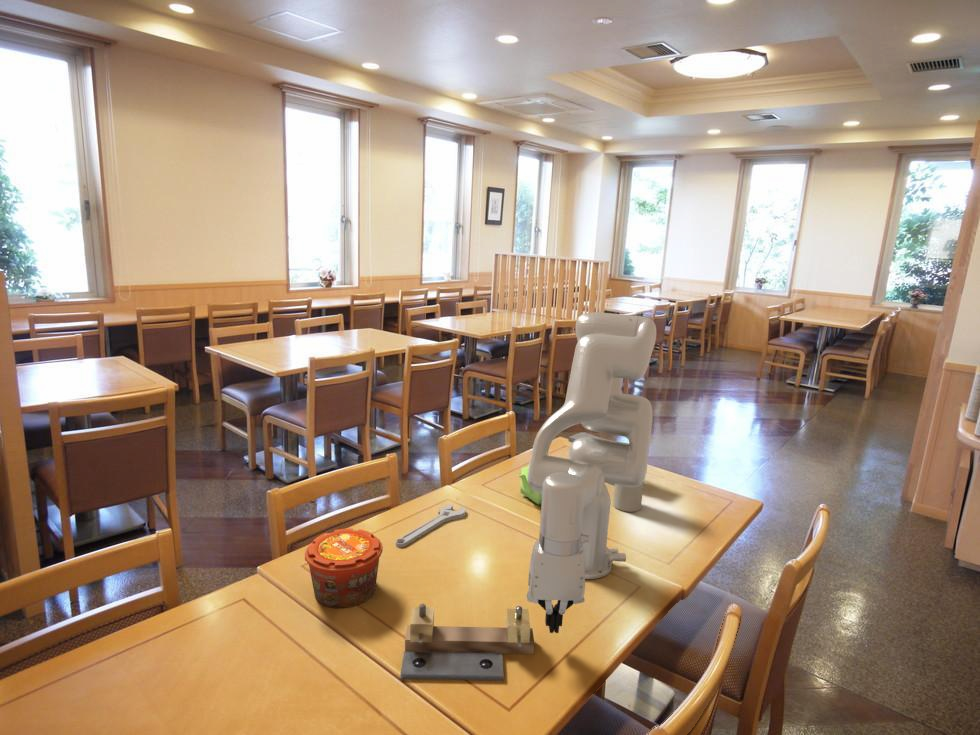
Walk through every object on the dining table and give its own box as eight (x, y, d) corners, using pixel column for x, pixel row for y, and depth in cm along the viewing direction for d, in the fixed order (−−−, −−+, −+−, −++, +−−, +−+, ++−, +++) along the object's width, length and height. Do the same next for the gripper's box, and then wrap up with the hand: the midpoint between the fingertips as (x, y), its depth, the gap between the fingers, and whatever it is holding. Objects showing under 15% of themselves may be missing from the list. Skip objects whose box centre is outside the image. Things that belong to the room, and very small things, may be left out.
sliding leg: (527, 624, 114) (528, 599, 113) (530, 651, 107) (532, 625, 106) (506, 624, 114) (507, 599, 113) (508, 651, 107) (509, 624, 106)
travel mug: (644, 505, 172) (650, 447, 168) (635, 515, 166) (641, 455, 162) (618, 497, 177) (624, 441, 172) (608, 507, 170) (614, 448, 166)
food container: (290, 601, 123) (288, 555, 120) (336, 562, 137) (335, 520, 135) (355, 622, 117) (354, 574, 115) (396, 579, 132) (396, 536, 129)
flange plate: (501, 658, 109) (502, 653, 109) (503, 680, 104) (503, 675, 103) (404, 656, 108) (404, 651, 108) (400, 678, 103) (400, 673, 103)
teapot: (569, 491, 180) (571, 458, 177) (568, 511, 167) (571, 476, 164) (519, 485, 182) (521, 453, 179) (514, 505, 169) (516, 471, 166)
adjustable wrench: (401, 550, 144) (401, 544, 144) (383, 541, 148) (383, 535, 148) (469, 515, 163) (469, 509, 163) (452, 507, 167) (452, 501, 166)
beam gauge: (531, 637, 115) (533, 600, 113) (535, 664, 108) (537, 625, 106) (407, 635, 114) (408, 597, 112) (403, 662, 107) (403, 622, 105)
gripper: (596, 531, 111) (588, 616, 115) (517, 529, 111) (512, 614, 115) (605, 552, 104) (596, 642, 108) (520, 550, 103) (515, 641, 108)
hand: (553, 628), depth 111 cm, fingers closed
